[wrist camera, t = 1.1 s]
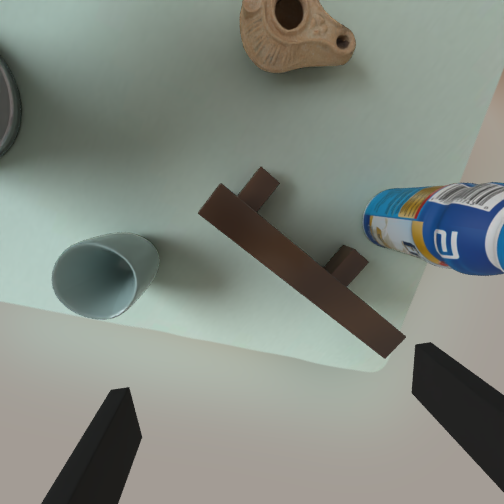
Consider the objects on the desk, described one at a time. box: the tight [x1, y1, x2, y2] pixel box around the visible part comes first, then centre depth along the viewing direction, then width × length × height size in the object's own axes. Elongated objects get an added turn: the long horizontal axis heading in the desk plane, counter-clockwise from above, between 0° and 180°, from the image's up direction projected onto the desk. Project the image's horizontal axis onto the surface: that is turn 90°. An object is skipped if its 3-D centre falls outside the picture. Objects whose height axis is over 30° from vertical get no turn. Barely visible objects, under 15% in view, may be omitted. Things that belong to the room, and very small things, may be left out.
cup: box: [52, 232, 159, 320], centre depth 27 cm, size 8×8×10 cm
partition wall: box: [198, 167, 406, 358], centre depth 27 cm, size 23×8×13 cm, turn 51°
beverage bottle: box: [362, 182, 504, 276], centre depth 24 cm, size 8×8×20 cm
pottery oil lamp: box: [240, 0, 356, 73], centre depth 25 cm, size 9×12×7 cm
